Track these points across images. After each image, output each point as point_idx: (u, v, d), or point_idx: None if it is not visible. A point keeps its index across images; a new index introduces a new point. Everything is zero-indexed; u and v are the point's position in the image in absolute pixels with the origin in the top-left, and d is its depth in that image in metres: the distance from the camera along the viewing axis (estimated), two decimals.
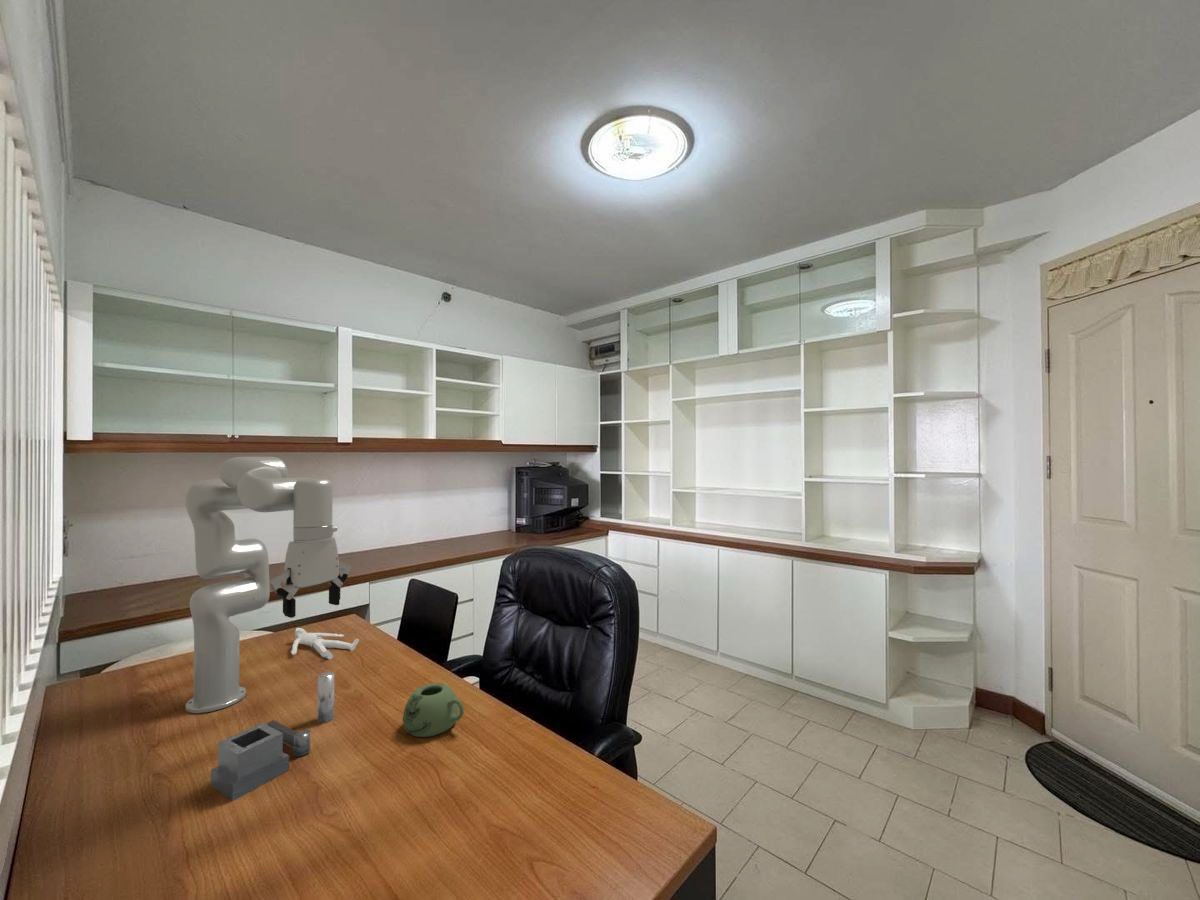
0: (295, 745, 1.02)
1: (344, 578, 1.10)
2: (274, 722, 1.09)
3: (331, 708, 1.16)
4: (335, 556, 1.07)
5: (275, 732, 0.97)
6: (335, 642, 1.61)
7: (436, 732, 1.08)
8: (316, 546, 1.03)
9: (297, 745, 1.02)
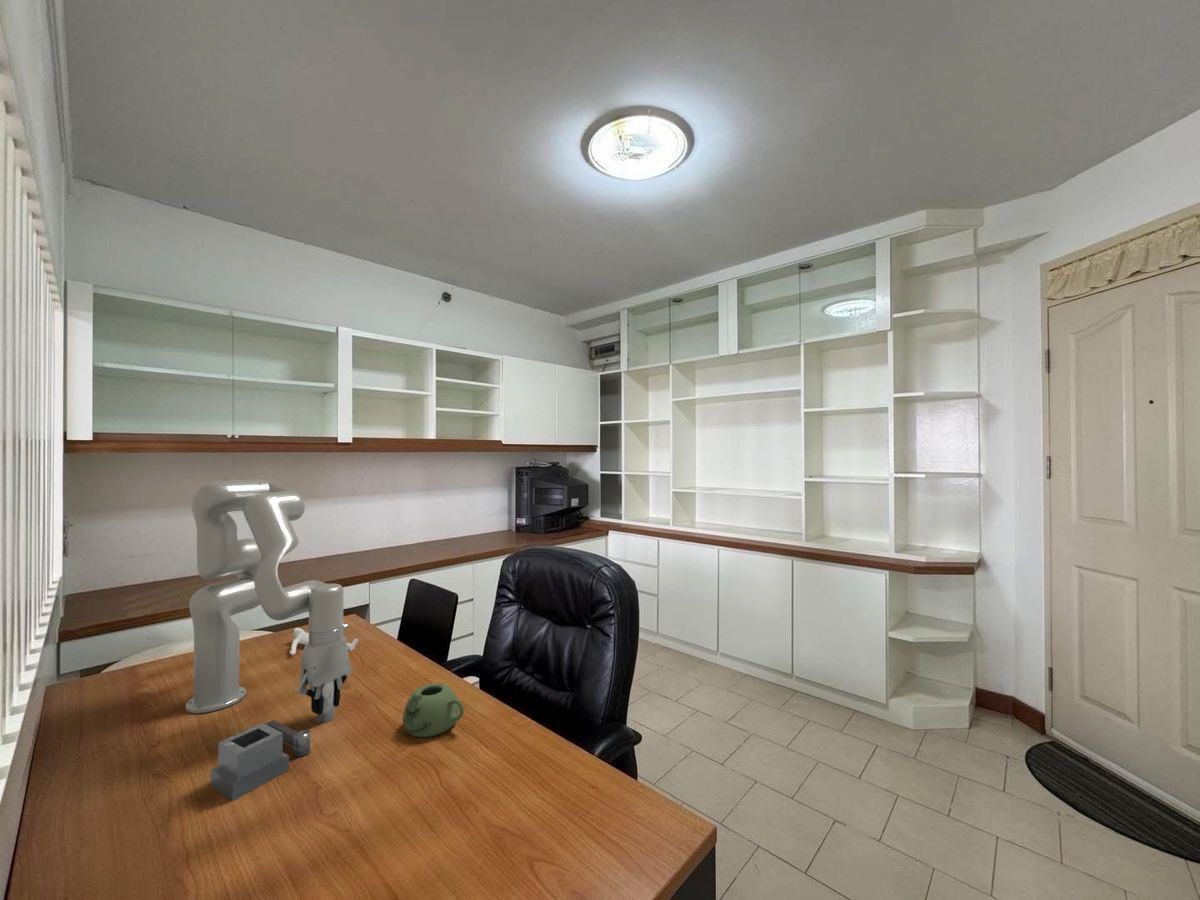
0: (295, 745, 1.02)
1: (343, 680, 1.20)
2: (274, 722, 1.09)
3: (331, 708, 1.16)
4: (346, 653, 1.19)
5: (275, 732, 0.97)
6: None
7: (436, 732, 1.08)
8: (329, 648, 1.15)
9: (297, 745, 1.02)
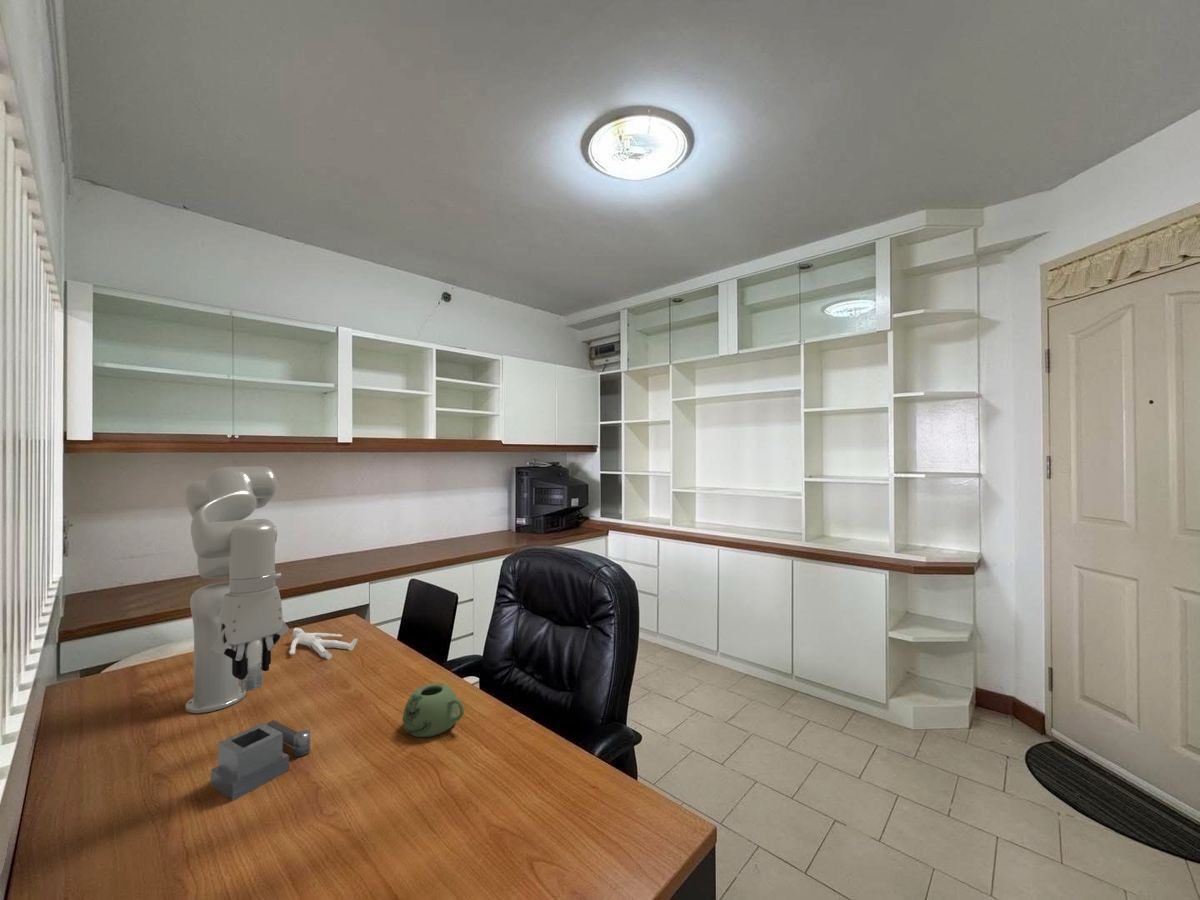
0: (295, 745, 1.02)
1: (276, 639, 0.99)
2: (274, 722, 1.09)
3: (258, 673, 0.95)
4: (278, 607, 0.98)
5: (275, 732, 0.97)
6: (333, 642, 1.61)
7: (436, 732, 1.08)
8: (254, 598, 0.94)
9: (297, 745, 1.02)
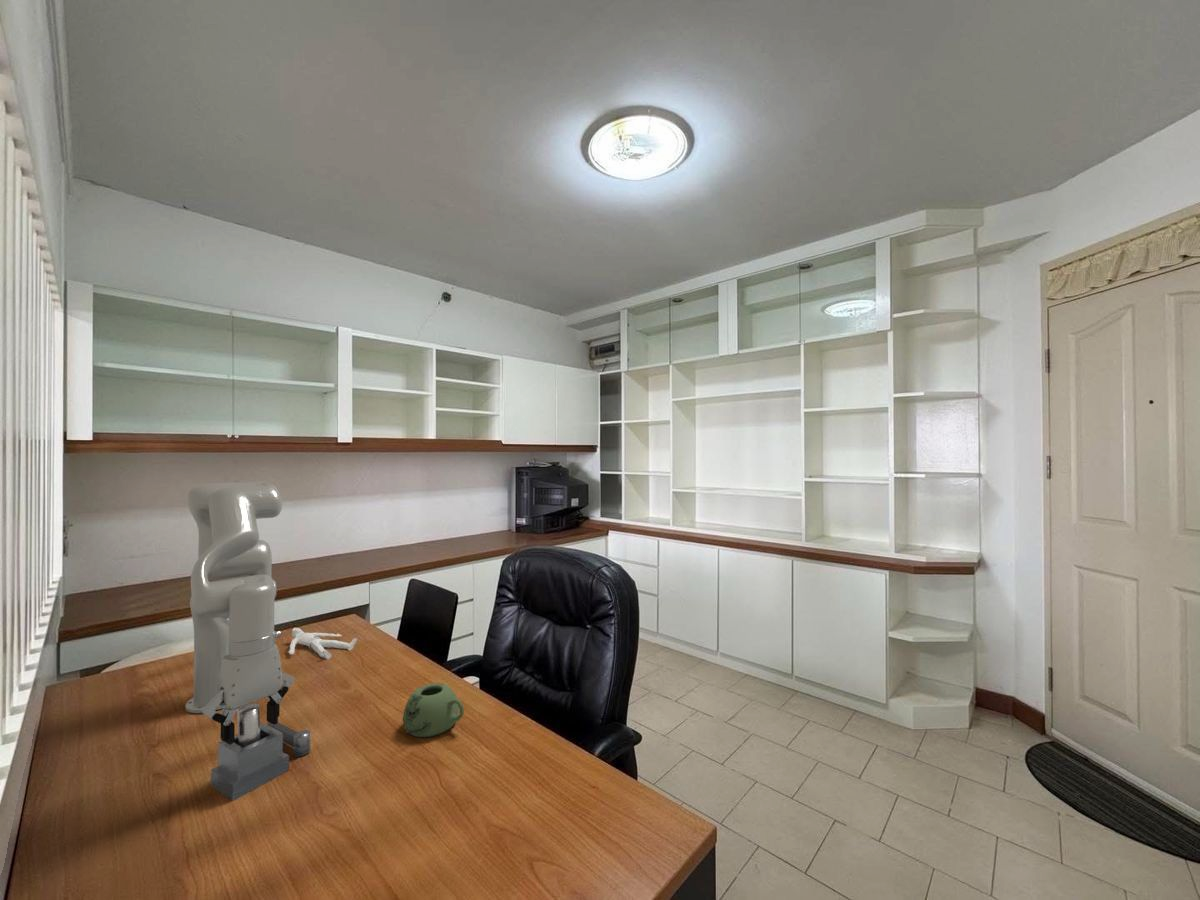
0: (295, 745, 1.02)
1: (284, 692, 1.00)
2: None
3: None
4: (277, 667, 0.98)
5: (275, 732, 0.97)
6: (333, 642, 1.61)
7: (436, 732, 1.08)
8: (254, 660, 0.94)
9: (297, 745, 1.02)
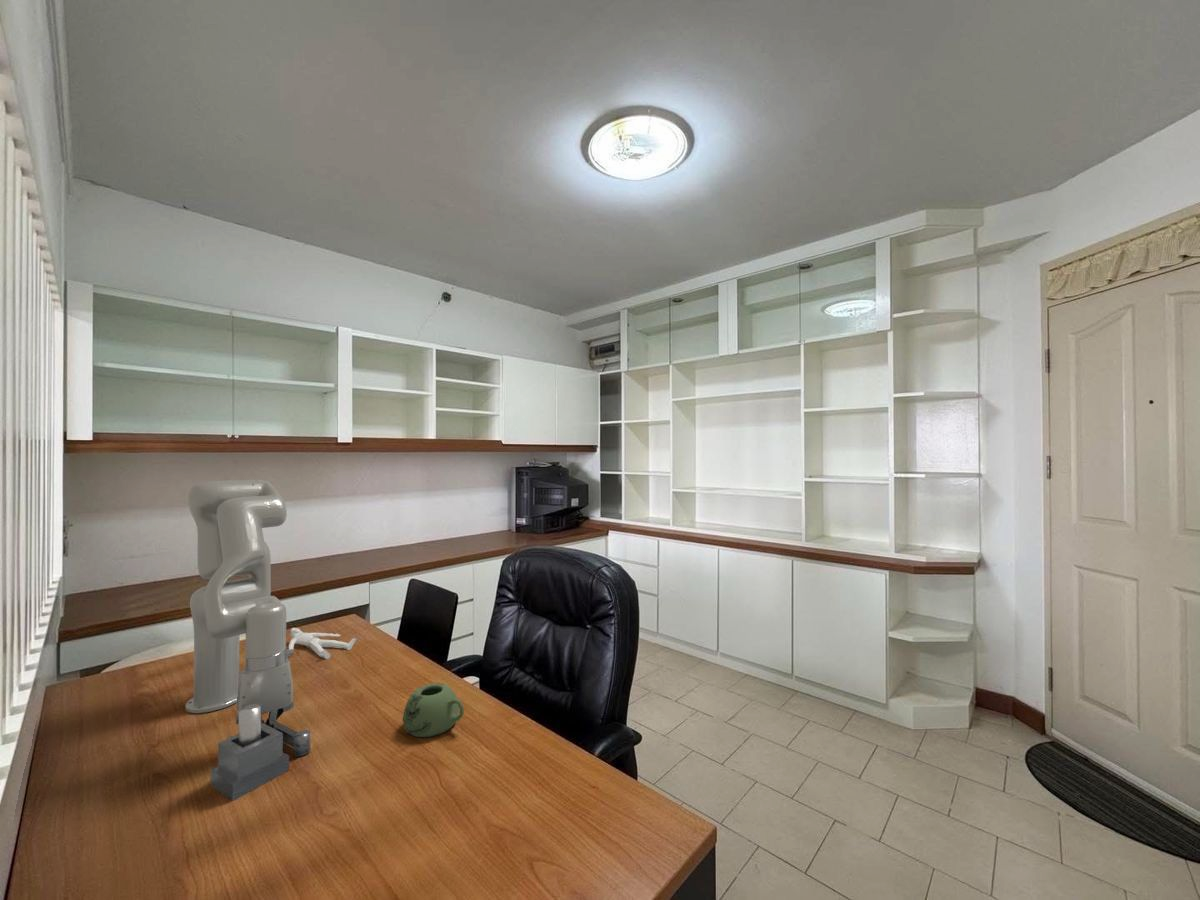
0: (295, 745, 1.02)
1: (279, 714, 1.06)
2: None
3: None
4: (287, 683, 1.07)
5: (275, 732, 0.97)
6: (332, 642, 1.61)
7: (436, 732, 1.08)
8: (263, 676, 1.03)
9: (297, 745, 1.02)
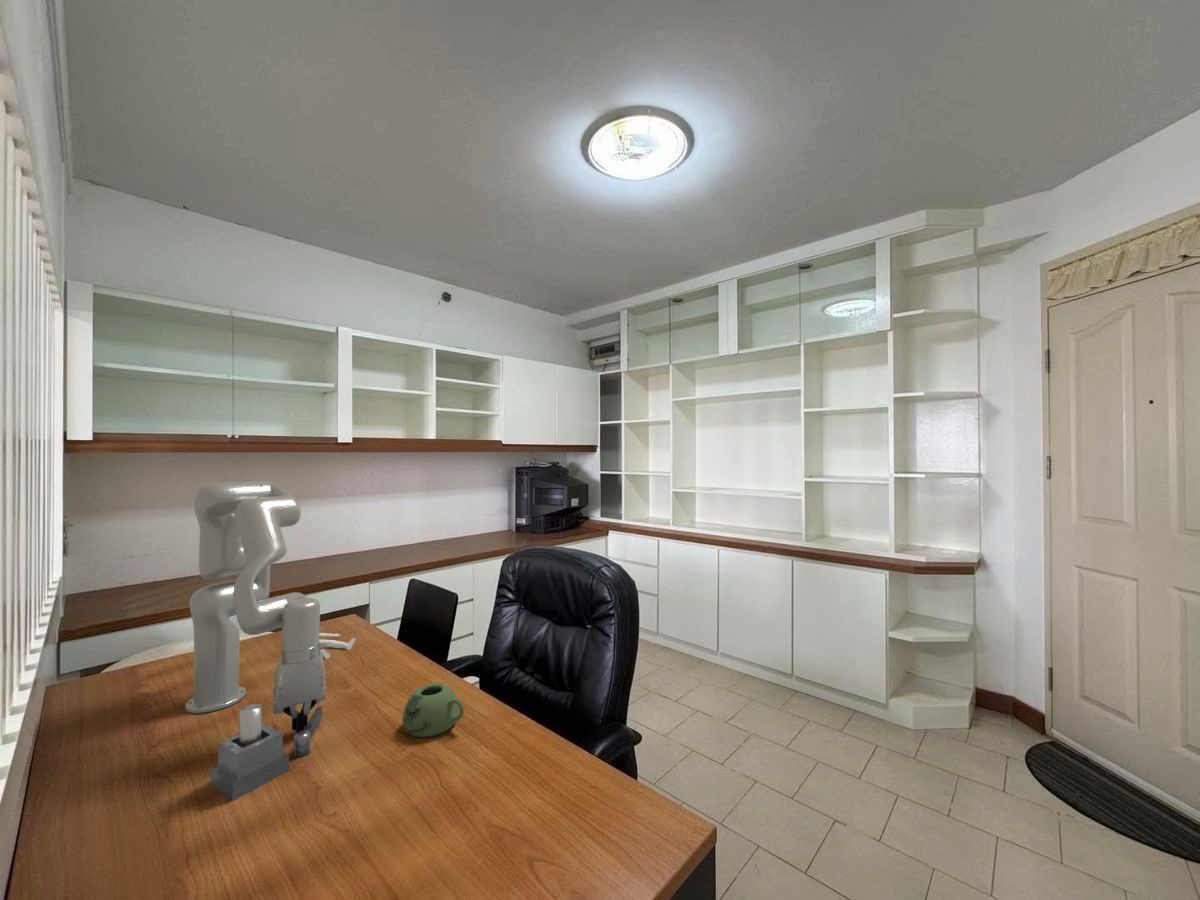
0: None
1: (312, 705, 1.11)
2: (319, 709, 1.15)
3: None
4: (320, 675, 1.11)
5: (275, 732, 0.97)
6: (331, 642, 1.61)
7: (436, 732, 1.08)
8: (298, 668, 1.08)
9: (294, 744, 1.02)
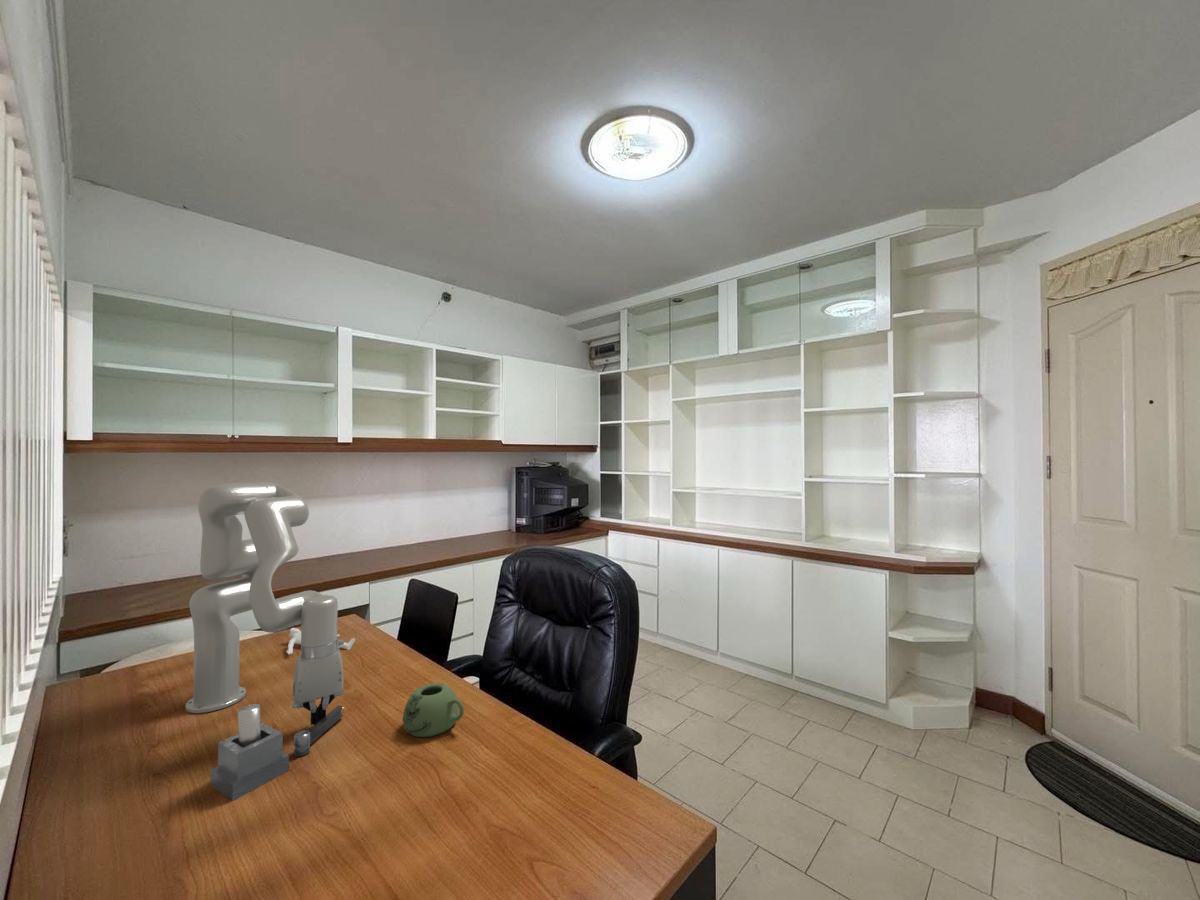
0: None
1: (330, 699, 1.13)
2: (338, 708, 1.15)
3: None
4: (338, 670, 1.13)
5: (275, 732, 0.97)
6: None
7: (436, 732, 1.08)
8: (317, 663, 1.10)
9: None
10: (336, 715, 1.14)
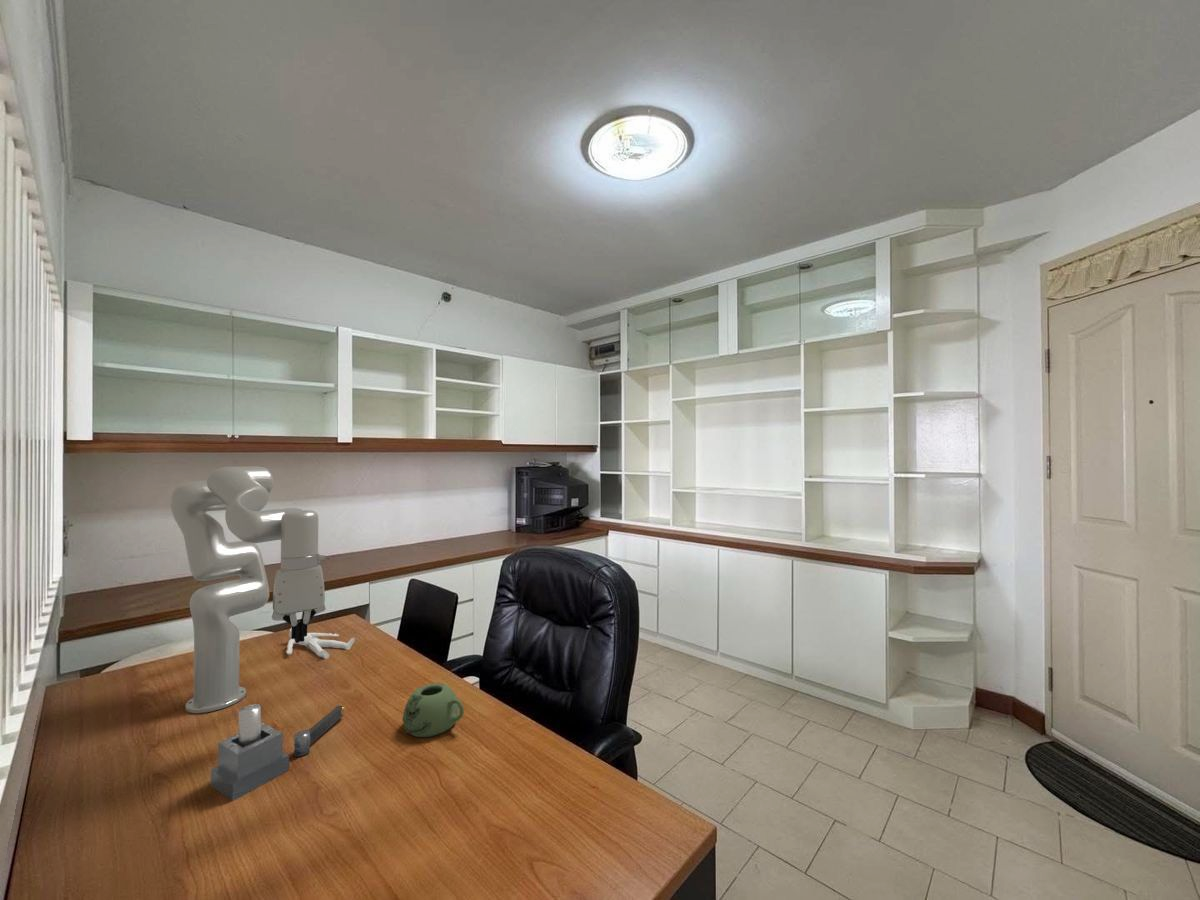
0: None
1: (312, 615, 1.11)
2: (338, 708, 1.15)
3: None
4: (319, 585, 1.12)
5: (275, 732, 0.97)
6: (330, 641, 1.61)
7: (436, 732, 1.08)
8: (297, 576, 1.08)
9: None
10: (336, 715, 1.14)
